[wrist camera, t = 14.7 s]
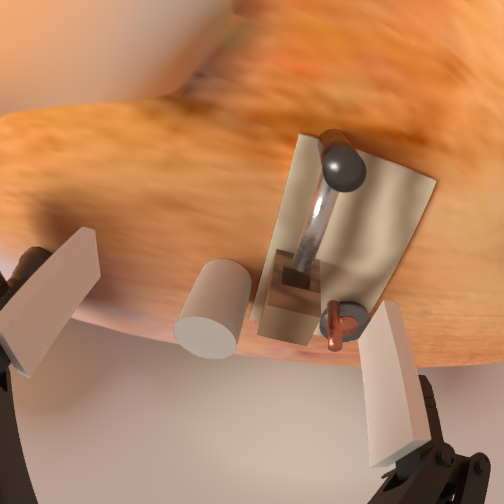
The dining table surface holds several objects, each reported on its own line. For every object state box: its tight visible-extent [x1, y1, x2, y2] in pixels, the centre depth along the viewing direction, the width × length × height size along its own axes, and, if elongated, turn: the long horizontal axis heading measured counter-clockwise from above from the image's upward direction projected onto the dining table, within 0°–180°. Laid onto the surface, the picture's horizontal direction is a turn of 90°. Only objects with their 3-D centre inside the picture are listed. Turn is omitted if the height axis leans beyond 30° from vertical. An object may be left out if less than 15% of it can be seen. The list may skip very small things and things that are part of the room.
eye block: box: [249, 133, 437, 346], centre depth 36 cm, size 18×30×12 cm, turn 169°
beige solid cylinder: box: [174, 259, 252, 359], centre depth 41 cm, size 8×8×12 cm
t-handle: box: [292, 129, 367, 272], centre depth 30 cm, size 4×15×10 cm, turn 169°
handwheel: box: [319, 300, 370, 352], centre depth 41 cm, size 10×8×9 cm
